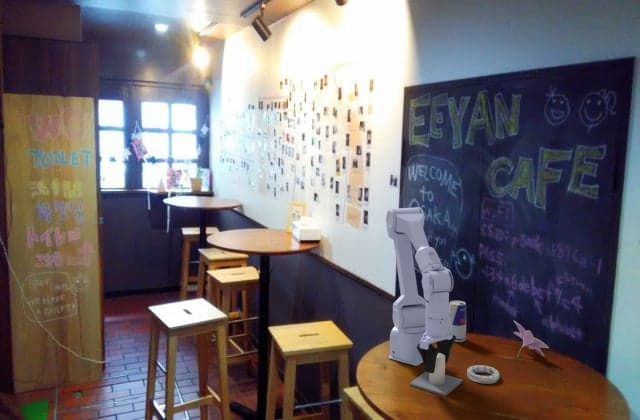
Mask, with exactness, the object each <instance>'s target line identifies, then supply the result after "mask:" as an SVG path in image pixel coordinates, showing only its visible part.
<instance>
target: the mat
mask: <svg viewBox="0 0 640 420" xmlns="http://www.w3.org/2000/svg"><path fill="white" fill-rule="evenodd" d="M463 381H464V380H463V379H462V378H458V377H454V376H451V375H448V374H445V383H444V384H442V385H434V384H431V383H430V382H429V373H428V372H426V371H424V372H423V373H422V374H420V375H419V376H417V377H416V378H415V379H413V380H412V381H411V382H410V383H409V386H411V387H414V388H417V389H421V390H423V391H427V392H431V393H433V394H436V395H440V396H443V397H447V396H448V395H449V394H450V393H452V392H453V391H455V389H456V388H457V387H458V386H460V385H461V384H462V383H463Z"/></svg>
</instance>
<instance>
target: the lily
mask: <svg viewBox="0 0 640 420" xmlns="http://www.w3.org/2000/svg"><path fill="white" fill-rule="evenodd" d="M513 322H514V324H515V325H516V327H517V329H518V331H519V332H518V331H513V332H512V333H513V334H514V335H515V336H517V337H519V338H520V339H522V345H521V347H520V349H519V351H518V352H517V353H518V354H517V356H516V358H519V357H520V354H521V352H522V349H523V348H524V347H528V349H529V350H533V349H535V350H536V351H537V352H538V353H539V354H541V356H543V357H544V358H545V357H546V356H545V354H544V353H543V351H542V350H541V349H542V348H544V349H549V348H550V347H549V346H548V344H546V343H545V342H543V341H542V340H541V339H539V338H537V337H534V335H533V333H532V331H531V330H529V329H527V330H526V329H525V328H524V326H522V325H521V324H520V323H519V322H517V321H516V320H513Z"/></svg>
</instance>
